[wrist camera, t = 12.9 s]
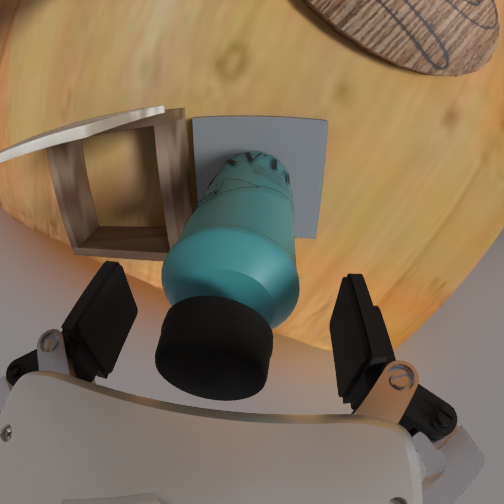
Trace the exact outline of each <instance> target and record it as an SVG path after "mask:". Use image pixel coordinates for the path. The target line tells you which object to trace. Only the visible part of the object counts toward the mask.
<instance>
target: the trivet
mask: <svg viewBox="0 0 504 504" xmlns="http://www.w3.org/2000/svg"><path fill="white" fill-rule="evenodd" d="M304 2H305V3H306V4H307V6H308V7H309V8H310V9H311V10H312V11H314V12H315V13H316V14H317V15H318V16H319V17H320V18H322V19H323V20H324V21H325V22H326V23H327V24H328V25H329V26H330V27H331V28H332V29H334V30H335V31H336V32H337V33H339V34H341V35H342V36H344V37H345V38H347V39H348V40H350V41H351V42H353V43H354V44H356V45H357V46H358V47H360V48H361V49H363V50H364V51H366V52H368V53H370V54H372V55H374V56H376V57H379V58H381V59H383V60H385V61H387V62H389V63H391V64H392V65H394V66H397V67H400V68H404V69H408V70H411V71H414V72H418V73H421V74H424V75H442V76H460V75H464V74H467V73H471V72H475V71H477V70H478V69H480V68H481V67H482V66H483V65H484V64H486V63H487V62H488V61H489V60H490V59H491V57H492V55H493V53H494V51H495V49H496V47H497V44H498V36H499V20H498V14H497V9H496V4H495V1H494V0H304Z"/></svg>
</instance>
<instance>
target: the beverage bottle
mask: <svg viewBox="0 0 504 504" xmlns="http://www.w3.org/2000/svg"><path fill="white" fill-rule="evenodd" d="M245 151H246V150H245ZM241 152H242V151H241ZM264 152H265V151H264ZM264 152H261V150H260V151H246V152H243V153H240V154H237V155H235V156H234V157H232V158H231V159H229V160H227V161H225V162H227V163H226V164H225V165H224V166H223V168H222V169H221V170H220V169H219V170H220V172H219V171H218V172H219V174H217V175H215V177H216V178H215V177H214V178H213V180H214V179H215V180H214V181H213V180H212V181H211V183H210V184H211V185H210V184H209V186H210V187H209V186H208V187H209V189H208V191H207V192H206V194H205V192H204V194H205V195H204V194H203V195H204V196H203V198H202V199H201V201H199V202H200V203H199V202H198V201H197V203H199V205H198V204H197V203H196V204H197V205H198V206H197V205H196V204H195V206H197V208H196V209H195V211H194V213H191V214H192V216H191V215H190V214H189V215H190V219H189V218H188V219H189V221H188V222H187V221H185V223H186V222H187V223H186V224H184V223H183V224H184V225H186V226H184V229H183V231H182V234H181V235H180V236H179V239H178V240H177V242H176V243H175V244H174V245H173V247H172V248H171V249H170V251H169V252H168V254H167V256H166V258H165V260H164V263H163V267H162V286H163V289H164V292H165V295H166V297H167V299H168V301H169V303H170V304H171V306H172V307H171V308H170V309H169V311H168V312H167V315H166V317H165V320H164V322H163V325H162V329H161V336H160V339H159V343H158V346H157V349H156V353H155V363H156V367H157V369H158V371H159V373H160V374H161V375H162V376H163V378H164V379H166V380H167V381H168V382H169V383H171V384H172V385H174V386H176V387H177V388H179V389H180V390H182V391H185V392H187V393H189V394H192V395H195V396H198V397H202V398H207V399H212V400H222V401H229V400H240V399H245V398H248V397H251V396H253V395H255V394H257V393H258V392H259V391H261V390H262V388H263V387H264V385H265V383H266V380H267V375H268V369H269V362H270V357H271V354H272V349H273V333H272V329H274V328H275V327H277V326H278V325H280V324H281V323H282V322H284V321H285V320H286V319H287V318H288V317H289V316H290V314H291V313H292V311H293V310H294V308H295V306H296V304H297V301H298V298H299V291H300V288H299V277H298V273H297V268H296V254H295V242H294V230H293V224H294V223H293V214H294V213H293V210H292V207H294V206H293V204H294V203H292V201H291V200H292V199H291V198H292V197H291V196H292V195H293V193H292V192H291V191H290V180H289V174H288V172H289V171H288V172H287V170H288V169H287V170H286V169H285V168H286V167H284V166H283V165H282V163H283V162H282V161H281V160H280V159H279V160H280V161H281V162H282V163H281V162H280V161H279V160H277V158H275V157H276V156H275V157H274V156H272V155H270V154H268V153H264ZM238 153H239V152H238ZM232 156H233V155H232ZM225 162H224V163H225ZM283 164H284V163H283ZM220 168H221V167H220ZM212 182H213V183H212ZM206 189H207V188H206ZM291 190H292V189H291ZM291 193H292V194H291ZM200 198H201V197H200ZM195 206H194V207H195ZM194 207H193V208H194ZM192 210H193V209H192ZM294 211H295V209H294ZM189 215H188V217H189ZM188 219H187V220H188ZM183 224H182V225H183ZM179 232H180V231H179Z"/></svg>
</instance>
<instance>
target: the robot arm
mask: <svg viewBox="0 0 504 504" xmlns="http://www.w3.org/2000/svg"><path fill="white" fill-rule="evenodd" d="M137 312H138V310H137V306H136V303H135V301H134V298H133V295H132V293H131V290H130V287H129V284H128V282H127V279H126V276H125V273H124V270H123V267H122V266H121V265H120V264H119V263H118V262H112V261H106V262H105V263H104V264H103V265H102V267H101V268H100V269H99V271H98V272H97V273H96V275H95V276H94V278H93V279H92V280H91V282H90V283H89V285H88V286H87V288H86V289H85V291H84V292H83V294H82V295H81V297H80V298H79V300H78V301H77V303H76V304H75V306H74V307H73V309H72V311H71V312H70V314H69V315H68V317H67V318H66V320H65V322H64V323H63V325H62V329H63V330H62V332H60V331H59V330H57V329H51V330H48V331H46V332H45V333H43V334H42V335H41V337H40V338H39V340H38V343H37V349H36V350H34V351H32V352H30V353H28V354H26V355H24V356H22V357H20V358H18V359H16V360H14V361H13V362H12V363H11V364H10V365H9V367H8V368H7V372H6V377H5V376H2V377H1V378H0V504H453V503H454V502H455V501H456V500H457V499H458V498H459V496H460V495H461V494H462V493H463V492H464V491H465V490H466V488H467V487H468V486H469V485H470V484H471V482H472V481H473V480H474V479H475V477H476V476H477V475H478V474H479V472H480V471H481V469H482V467H483V465H484V455H483V453H482V451H481V450H480V449H479V447H478V446H477V445H476V444H475V442H474V441H473V439H472V438H471V437H470V436H469V434H468V433H467V432H466V430H465V429H464V428H463V427H462V426H460V427H459V426H458V425H457V415H456V412H455V410H454V408H453V407H451V405H449V404H448V403H446V402H445V401H443V400H442V399H440V398H439V397H437V396H436V395H434V394H433V393H431V392H429V391H428V390H427V389H425V388H424V387H422V386H421V385H419V384H418V382H419V377H418V374H417V371H416V369H415V368H414V367H413V366H412V365H411V364H409V363H407V362H405V361H399V360H398V361H396V360H395V356H394V352H393V349H392V345H391V342H390V339H389V335H388V332H387V329H386V326H385V323H384V320H383V317H382V314H381V311H380V309H379V307H378V306H373V303H372V300H371V297H370V294H369V291H368V289H367V286H366V283H365V280H364V277H363V275H362V274H348V275H347V277H343V279H342V282H341V286H340V289H339V293H338V297H337V300H336V303H335V307H334V310H333V314H332V317H331V320H330V334H331V341H332V348H333V355H334V362H335V370H336V378H337V387H338V395H339V397H343V403H351V408H352V409H353V411H352V413H351V414H337V415H335V414H334V415H333V414H332V415H331V414H327V415H280V414H256V413H242V412H230V411H222V410H212V409H205V408H198V407H192V406H185V405H180V404H174V403H169V402H163V401H158V400H154V399H149V398H145V397H141V396H136V395H133V394H129V393H125V392H121V391H118V390H114V389H110V388H107V387H104V386H101V385H97V384H96V382H95V379H94V378H95V376H96V375H97V376H99V377H102V378H105V379H106V378H107V377H108V374H109V373H111V372H112V370H113V368H114V366H115V363H116V361H117V359H118V356H119V354H120V352H121V349H122V347H123V344H124V342H125V340H126V338H127V335H128V333H129V331H130V329H131V326H132V325H133V322H134V320H135V318H136V316H137ZM417 451H418V453H419V454H420V455H421V456H422V458H421V460H422V462H423V463H424V465H425V467H426V475H425V478H424V479H423V481H421V472H420V465H419V460H418V455H417Z"/></svg>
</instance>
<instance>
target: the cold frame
mask: <svg viewBox="0 0 504 504" xmlns="http://www.w3.org/2000/svg"><path fill="white" fill-rule="evenodd" d="M149 126H154V132H155V143H156V154H157V163H158V172H159V180H160V188H161V195H162V202H163V209H164V216H165V222H166V228H163V227H111V226H99V224H98V220H97V217H96V213H95V209H94V205H93V200H92V196H91V191H90V187H89V182H88V177H87V172H86V166H85V161H84V155H83V148H82V142H81V139H82V138H86V137H89V136H93V135H98V134H103V133H109V132H115V131H121V130H127V129H134V128H141V127H149ZM43 148H46V149H47V155H48V161H49V166H50V171H51V175H52V180H53V184H54V188H55V193H56V196H57V200H58V204H59V208H60V211H61V215H62V218H63V221H64V225H65V228H66V231H67V234H68V237H69V240H70V243H71V246H72V249H73V252H74V254H75V255H85V256H98V257H111V258H124V259H138V260H152V261H164V260H165V258H166V256H167V254H168V252H169V251H170V249H171V248H172V247H173V245H174V244H175V243H176V242H177V240H178V239H179V236H180V235H181V234H182V231H183V229H184V226H186V225H184V224H186V223H187V222H188V221H189V219H190V215H191V216H192V214H191V213H193V212H192V202H191V192H190V181H189V168H188V155H187V140H186V122H185V108H178V109H168V110H165V108H164V105H162V106H155V107H148V108H141V109H135V110H130V111H124V112H119V113H114V114H109V115H105V116H100V117H96V118H92V119H88V120H84V121H80V122H76V123H73V124H69V125H66V126H62V127H59V128H56V129H53V130H49V131H46V132H44V133H41V134H38V135H36V136H33V137H31V138H28V139H26V140H24V141H21V142H19V143H17V144H14V145H12V146H10V147H8V148H6V149H4V150H2V151H0V163H1V162H3V161H6V160H9V159H12V158H14V157H17V156H20V155H23V154H26V153H30V152H33V151H36V150H39V149H43ZM189 214H190V215H189ZM188 215H189V217H188ZM188 218H189V219H188ZM187 219H188V220H187ZM185 221H187V222H186V223H185ZM183 223H184V224H183ZM182 224H183V225H182ZM179 231H180V232H179Z"/></svg>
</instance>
